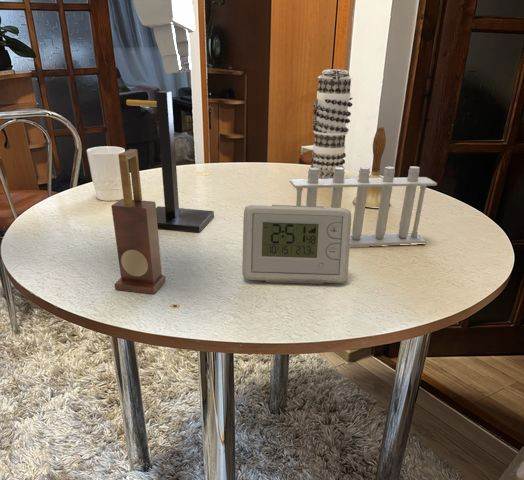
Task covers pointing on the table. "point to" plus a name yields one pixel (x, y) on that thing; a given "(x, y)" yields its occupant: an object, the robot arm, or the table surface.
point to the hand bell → (376, 169)
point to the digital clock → (296, 244)
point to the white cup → (106, 172)
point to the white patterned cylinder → (331, 121)
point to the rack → (172, 172)
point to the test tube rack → (362, 186)
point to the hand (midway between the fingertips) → (179, 72)
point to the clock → (136, 233)
